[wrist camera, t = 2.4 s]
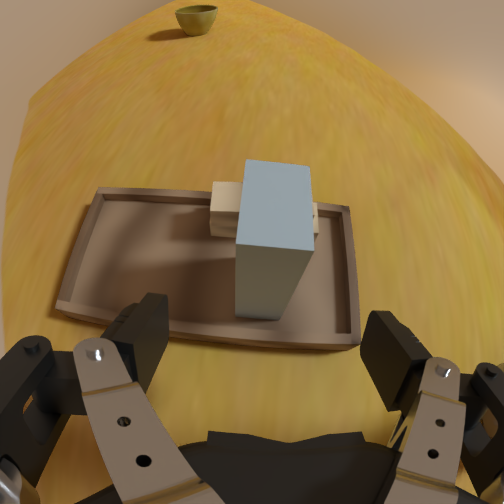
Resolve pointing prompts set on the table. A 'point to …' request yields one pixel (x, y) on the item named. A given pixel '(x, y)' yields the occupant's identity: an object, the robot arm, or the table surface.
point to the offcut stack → (235, 209)
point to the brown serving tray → (204, 272)
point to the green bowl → (196, 18)
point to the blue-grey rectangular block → (272, 237)
